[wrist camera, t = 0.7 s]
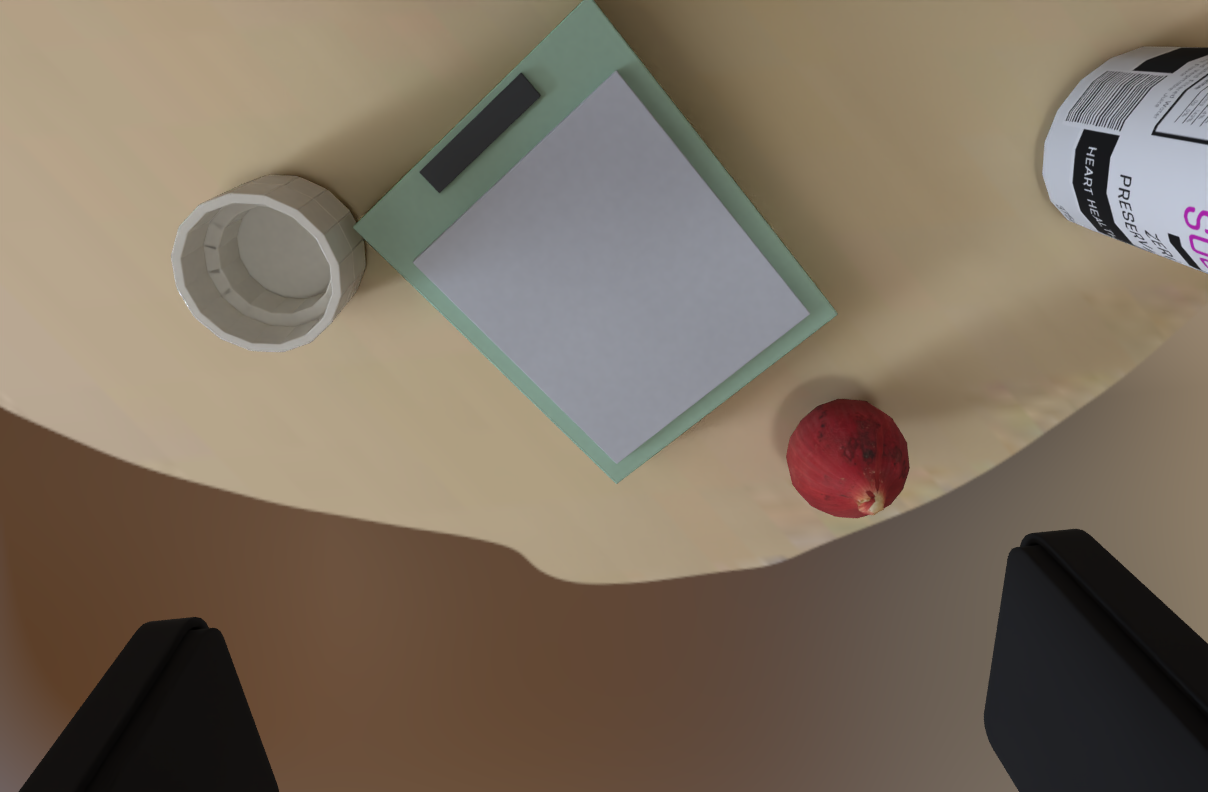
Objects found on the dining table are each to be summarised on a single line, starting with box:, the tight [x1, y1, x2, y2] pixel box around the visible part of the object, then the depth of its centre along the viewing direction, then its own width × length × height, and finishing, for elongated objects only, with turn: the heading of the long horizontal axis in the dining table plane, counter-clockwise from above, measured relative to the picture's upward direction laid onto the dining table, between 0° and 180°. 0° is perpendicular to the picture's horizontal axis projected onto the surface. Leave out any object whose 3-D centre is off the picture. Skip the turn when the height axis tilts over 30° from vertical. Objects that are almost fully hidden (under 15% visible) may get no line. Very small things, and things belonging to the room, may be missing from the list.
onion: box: [786, 399, 910, 518], centre depth 39 cm, size 6×6×8 cm
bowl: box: [171, 175, 366, 352], centre depth 35 cm, size 7×7×5 cm
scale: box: [353, 0, 838, 484], centre depth 37 cm, size 18×14×3 cm
